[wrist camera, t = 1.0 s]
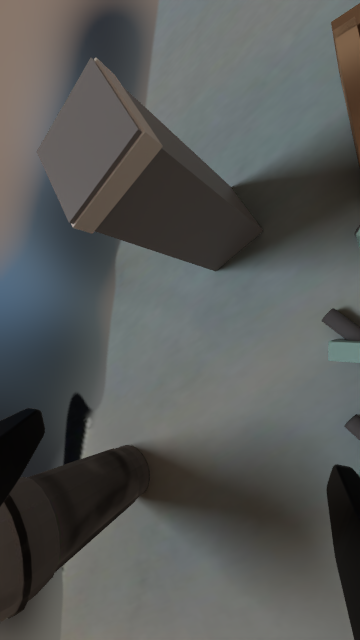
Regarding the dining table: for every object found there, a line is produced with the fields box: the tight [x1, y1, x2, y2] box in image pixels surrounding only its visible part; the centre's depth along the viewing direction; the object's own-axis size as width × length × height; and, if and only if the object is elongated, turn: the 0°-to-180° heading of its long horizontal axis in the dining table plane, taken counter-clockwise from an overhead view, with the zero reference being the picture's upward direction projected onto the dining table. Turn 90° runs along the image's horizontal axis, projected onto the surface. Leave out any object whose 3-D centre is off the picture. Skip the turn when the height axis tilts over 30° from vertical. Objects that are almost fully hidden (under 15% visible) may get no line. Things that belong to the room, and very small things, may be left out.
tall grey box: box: [37, 58, 263, 271], centre depth 17 cm, size 5×5×13 cm
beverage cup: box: [0, 445, 149, 622], centre depth 19 cm, size 7×7×20 cm
